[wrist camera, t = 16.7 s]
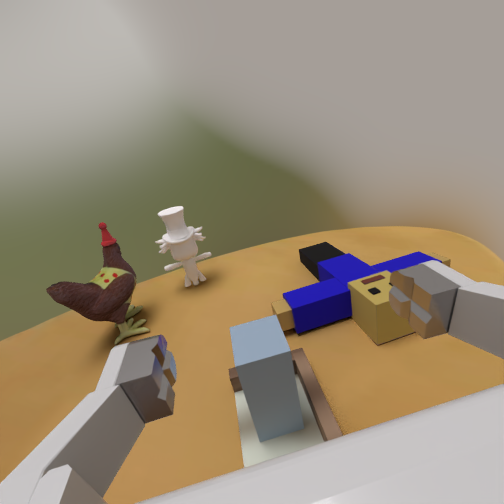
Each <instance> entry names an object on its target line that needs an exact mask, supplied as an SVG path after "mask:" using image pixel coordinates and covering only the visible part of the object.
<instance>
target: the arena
mask: <svg viewBox="0 0 504 504" xmlns="http://www.w3.org/2000/svg"><path fill="white" fill-rule="evenodd" d="M291 356H292V362H293V367H294V373H295V379H296V384H297V390H298V396H299V401H300V407H301V413H302V418H303V424H304V429H302V430H298V431H295V432H292V433H289V434H286V435H282V436H279V437H276V438H273V439H270V440H266V441H263V442H260V441H259V438H258V435H257V432H256V429H255V426H254V423H253V420H252V417H251V413H250V410H249V407H248V404H247V401H246V398H245V395H244V392H243V389H242V386H241V383H240V380H239V377H238V373H237V370H236V367H234V368H231V369H229V376H230V381H231V384H232V386H233V389H234V392H235V399H236V407H237V415H238V423H239V430H240V438H241V446H242V454H243V462H244V468H245V467H249V466H252V465H255V464H258V463H261V462H264V461H267V460H270V459H273V458H276V457H279V456H282V455H285V454H289V453H292V452H295V451H298V450H301V449H304V448H307V447H310V446H313V445H316V444H319V443H322V442H325V441H329V440H332V439H335V438H338V437H341V436H343V435H342V432H341V430H340V428H339V426H338V424H337V422H336V420H335V417H334V415H333V413H332V411H331V409H330V407H329V404H328V402H327V400H326V398H325V396H324V394H323V392H322V389H321V387H320V385H319V383H318V381H317V379H316V377H315V374H314V372H313V370H312V368H311V366H310V364H309V362H308V359H307V357H306V355H305V353H304V351H303V349H302V348H300V349H296V350H293V351H291Z"/></svg>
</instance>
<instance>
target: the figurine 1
mask: <svg viewBox="0 0 504 504" xmlns="http://www.w3.org/2000/svg"><path fill="white" fill-rule="evenodd" d="M99 228H100V229H101V230H102V243H101V245H102V246H103V257H104V265H103V268H102V269H101V271H100V272H99V273H98V275H97V276H96V277H95V278H94V279H93V280H91V281H90V282H88V283H87V284H81V283H75V282H74V283H72V282H58V283H57V284H53V285H51V287H49V288H47V293H48V294H49V295H50V296H51V297H52V298H53V299H54V300H55V301H56V302H57V303H60V304H62V305H64V306H66V307H69V308H70V309H72V310H74V311H76V312H78V313H79V314H81V315H82V316H84V317H86V318H88V319H90V320H94V321H110V322H114V323H115V328H117V327H118V328H119V330H120V332H121V334H120V335H119V336H118V337H117V338H116V340H115V342H114V344H115V345H116V344H118V342H120V341H121V340H122V339H123V338H126V337H129V336H132V335H136V334H140V333H145V332H148V331H150V330H149V329H148V328H145V327H142V328H138V327H140V326H141V325H142V324H143V323H144V322H146V320H144V319H141V320H139V321H138V322H136V323H135V324H133V325H132V323H133V320H134V319H133V318H131V319H129V320H128V322H127V323H126V322H125V320H126V319H128V318H130V317H132V316H133V315H135V314H136V313H138V312H139V311H140V310H141V309H142V308H143V306H138V307H136V308H135V309H134V305H130V302H131V298H132V294H133V291H134V289H135V286H136V274H135V272H134V271H133V269H132V268H131V266H130V265H129V264H128V263H127V262H126V261H125V260H124V259H123V258H122V256H121V251H120V247H119V245H118V244H117V243H116V239H114V238H112V236H111V235H110V233H109V232H108V231H107V229H106V224H105V223H103V222H102V223H100V224H99ZM129 305H130V306H129Z"/></svg>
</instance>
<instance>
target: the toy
mask: <svg viewBox="0 0 504 504" xmlns="http://www.w3.org/2000/svg"><path fill="white" fill-rule="evenodd" d="M299 254H300V260H301V262H302V263H303V264H304V265H305V267H306V268H307V269H308V270H309V271H310V272H311V273H312V274H313V275H314V276H315V277H316V278H317V279H318V280H320V282H319V283H315V284H312V285H309V286H306V287H302V288H299V289H296V290H293V291H289V292H286V293H283V298H284V299H282V300H279V301H276V302H272V303H271V305H272V310H273V315H276V316H277V319H278V321H279V323H280V326H281V328H282V331H285V330H289V329H292V328H294V329H295V331H296V332H297V334H298V333H301V332H304V331H307V330H310V329H313V328H316V327H319V326H322V325H325V324H328V323H331V322H334V321H337V320H340V319H343V318H346V317H349V316H351V317H352V319H353V320H354V321H355V322H356V323H357V324H358V325H359V326H360V327H361V329H362V330H363V331H364V332H365V333H366V334H367V335H368V336H369V337H370V338H371V339H372V340H373V341H374V342H375V343H376V344H377V345H379V344H382V343H385V342H388V341H391V340H394V339H397V338H399V337H402V336H405V335H408V334H411V333H414V332H416V331H414V330H413V329H412V328H411V327H410V326H409V320H407V319H404V318H402V317H399V316H398V315H397V314H396V313H395V312H394V310H393V309H392V307H391V305H390V302H389V291H390V290H391V288H392V287H393V285H392V284H391V283H390V275H391V273H392V272H393V271H397V270H400V269H404V268H408V267H411V266H415V265H418V264H421V263H424V262H427V261H431V260H435V261H439V262H440V263H442V264H444V265H446V266H448V267H450V259H448V258H446V257H443V256H441V255H438V254H435V253H430V254H427V255H426V254H423V253H421V252H419V251H418V252H415V253H412V254H409V255H405V256H402V257H399V258H396V259H392V260H389V261H386V262H383V263H379V264H376V265H373V266H369V265H368V264H366V263H364V262H363V261H361V260H359V259H358V258H356V257H354V256H353V255H351V254H349V253H348V254H345V253H343V252H342V251H340V250H338V249H337V248H335V247H333V246H332V245H330V244H329V243H327V242H323V243H320V244H317V245H313V246H310V247H306V248H303V249H299Z"/></svg>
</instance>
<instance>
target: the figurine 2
mask: <svg viewBox="0 0 504 504" xmlns="http://www.w3.org/2000/svg"><path fill="white" fill-rule="evenodd" d="M158 215H159V216H160V217H161V219H162V220H163V222H164V224H165V226H166V228H167V234H165V235H163V238H162V240H158V241H155V243H157V244H163V245H161V246H160V248H162V249H161V251H159V253H161V252H163V253H165V252H166V251H167V250H168V249H170V251H171V254H172V257H173V258H174V259H175V260H177V261H182V260H183V261H182V262H179V263H174V264H170V265H168V266H166V267H165V268H164V269H165V270H166V271H167V270H172V269H174V268H177V267H179V266H181V265H183V267H184V269H185V272H186V276H185V287H188V286H190V285H191V281H193V284H194V285H198V284H199V281H198V277H199V279H200V281H205V280H206V278H205V276H204V275H203V274H202V273H201V272H200V271H199V270H198V269H197V266H196V263H195V261H196V260H200V259H203V258H207V257H209V256H211V253H210V252H208V253H203V254H201V255H199V256H197V257H194V256H195V255H196V254H197V252H198V247H197V245H196V242H195V240H200V241H203V238H205V237H203V236H201V235H202V234H201V233H197V232H199V231H200V230H201V229H202V227H200V228H197V229H194V228H193V227H186V224H185V223H184V218H183V207H182V206H178V207H172V208H168V209H166V210H163V211H161V212H159V213H158ZM191 257H194V258H191ZM190 280H191V281H190Z"/></svg>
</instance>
